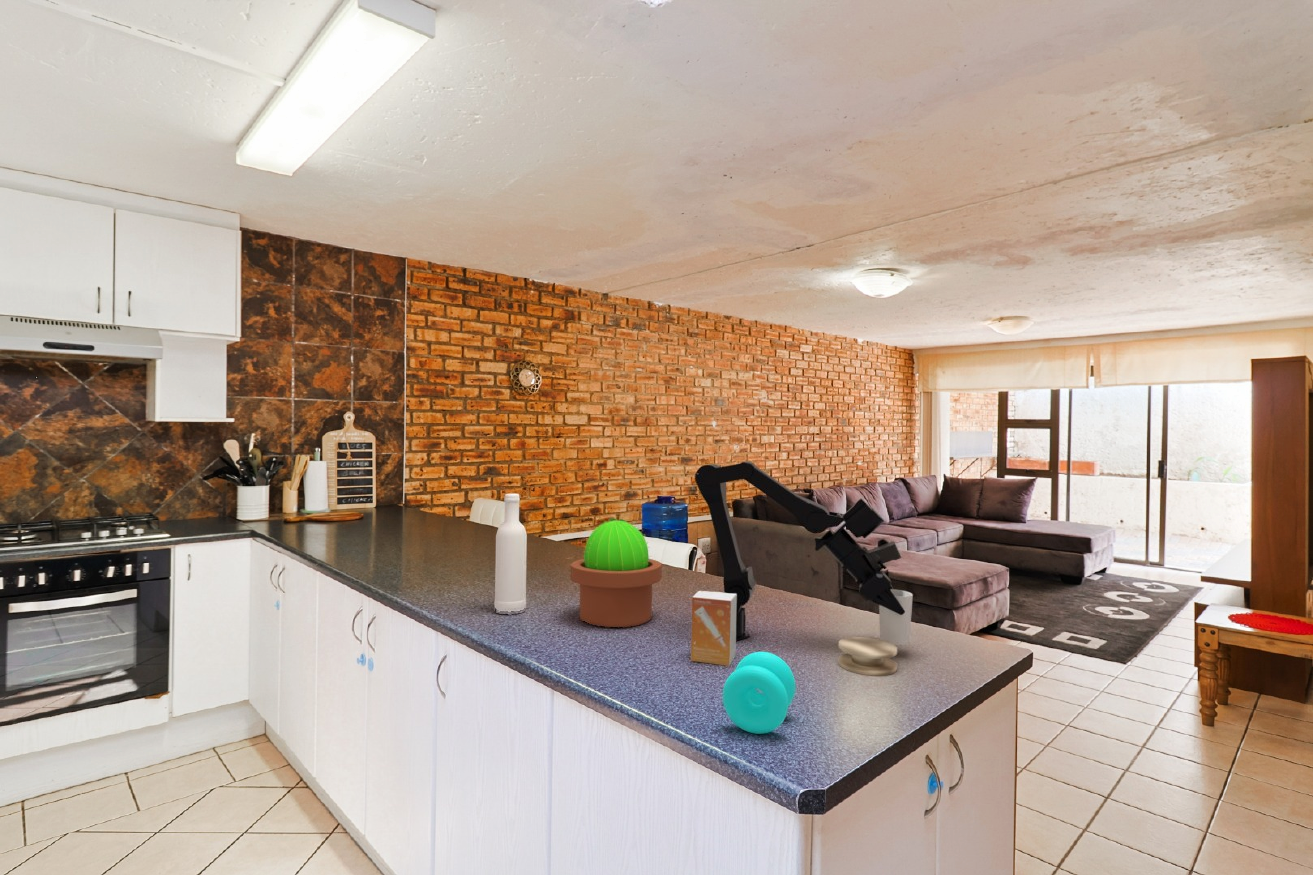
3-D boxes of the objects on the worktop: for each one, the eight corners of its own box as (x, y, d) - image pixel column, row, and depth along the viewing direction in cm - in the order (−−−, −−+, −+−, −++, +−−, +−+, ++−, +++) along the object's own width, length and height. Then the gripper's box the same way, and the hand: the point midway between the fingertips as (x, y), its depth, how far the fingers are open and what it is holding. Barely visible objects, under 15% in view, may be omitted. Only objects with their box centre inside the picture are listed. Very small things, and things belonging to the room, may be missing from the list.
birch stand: (878, 679, 119) (878, 658, 119) (827, 664, 128) (827, 643, 128) (907, 666, 127) (907, 646, 127) (857, 652, 135) (857, 633, 135)
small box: (690, 661, 128) (691, 596, 128) (697, 652, 134) (698, 589, 134) (730, 666, 125) (731, 600, 126) (736, 656, 131) (737, 592, 132)
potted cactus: (627, 637, 144) (629, 525, 144) (552, 621, 155) (553, 518, 155) (676, 615, 162) (677, 516, 162) (606, 603, 174) (607, 510, 174)
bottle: (501, 606, 168) (503, 492, 169) (530, 608, 167) (532, 493, 168) (489, 614, 160) (491, 494, 161) (519, 616, 159) (521, 495, 160)
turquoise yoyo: (720, 730, 97) (720, 664, 98) (735, 705, 107) (736, 645, 107) (786, 742, 94) (786, 674, 94) (796, 715, 103) (797, 653, 103)
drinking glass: (877, 642, 132) (878, 594, 133) (878, 634, 139) (879, 587, 139) (912, 647, 130) (913, 598, 130) (911, 638, 136) (912, 591, 136)
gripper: (878, 533, 127) (937, 594, 123) (876, 522, 145) (927, 576, 141) (836, 570, 129) (893, 631, 126) (839, 554, 147) (889, 608, 144)
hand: (902, 609), depth 134 cm, fingers closed on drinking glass, 6 cm apart
